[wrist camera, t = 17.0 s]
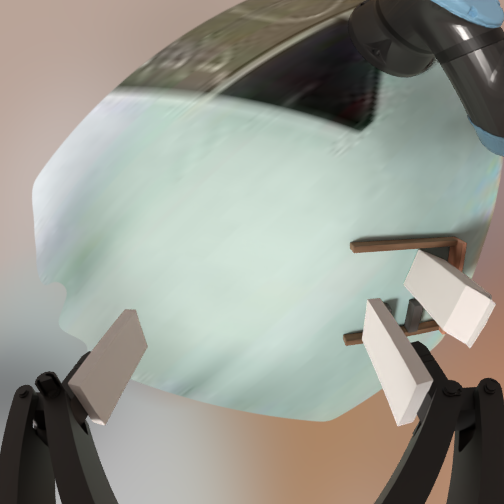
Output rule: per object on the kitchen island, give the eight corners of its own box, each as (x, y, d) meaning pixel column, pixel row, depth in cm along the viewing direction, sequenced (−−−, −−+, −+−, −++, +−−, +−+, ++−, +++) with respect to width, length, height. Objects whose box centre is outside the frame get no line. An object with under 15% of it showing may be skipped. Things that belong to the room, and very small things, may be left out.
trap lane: (350, 242, 42) (357, 250, 38) (454, 236, 41) (466, 243, 37) (343, 338, 48) (347, 351, 45) (437, 323, 47) (446, 333, 43)
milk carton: (402, 284, 44) (455, 346, 26) (418, 248, 42) (482, 298, 24) (428, 292, 45) (482, 350, 27) (444, 259, 42) (506, 307, 24)
